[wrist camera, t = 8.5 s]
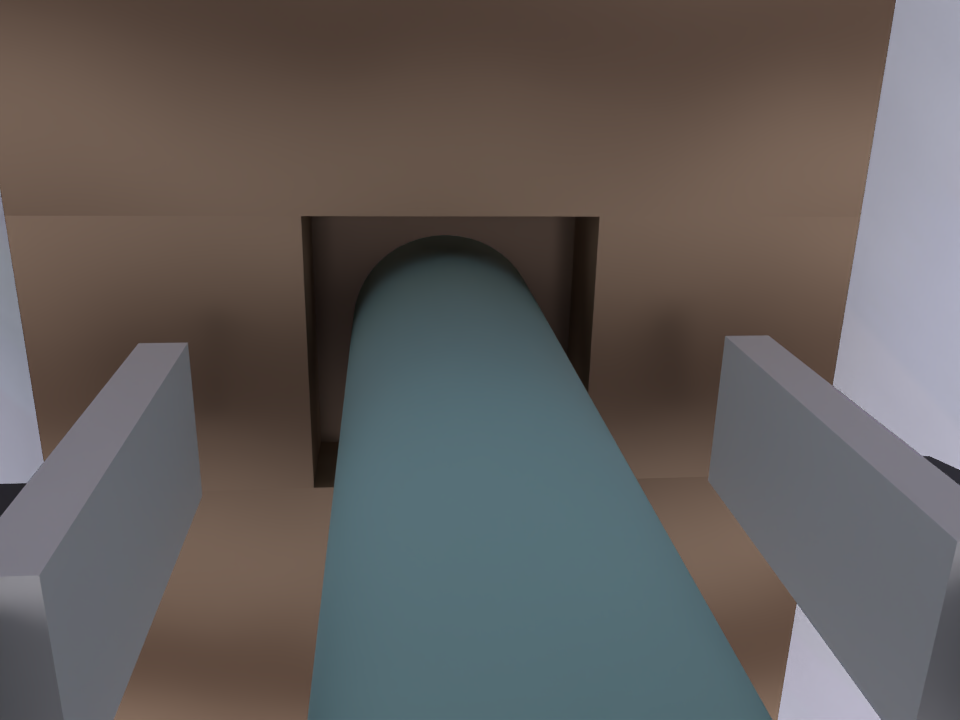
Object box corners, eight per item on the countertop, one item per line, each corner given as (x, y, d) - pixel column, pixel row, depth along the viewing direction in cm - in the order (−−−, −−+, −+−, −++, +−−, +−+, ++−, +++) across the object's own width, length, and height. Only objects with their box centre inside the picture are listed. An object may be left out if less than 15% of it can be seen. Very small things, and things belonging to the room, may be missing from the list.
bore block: (-2, -274, 16) (-85, -339, 13) (852, -228, 18) (941, -278, 15) (134, 719, 23) (99, 812, 21) (725, 687, 25) (769, 770, 22)
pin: (350, 234, 19) (219, 990, 4) (538, 234, 19) (1064, 923, 4) (355, 410, 20) (270, 1467, 5) (530, 406, 21) (910, 1382, 6)
